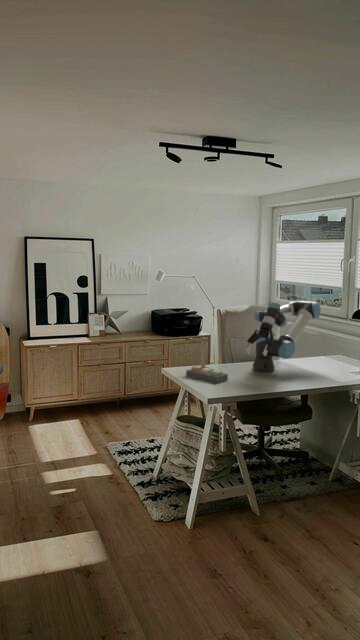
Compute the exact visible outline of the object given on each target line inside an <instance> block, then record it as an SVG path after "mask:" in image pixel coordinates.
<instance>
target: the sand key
mask: <svg viewBox="0 0 360 640" xmlns="http://www.w3.org/2000/svg"><path fill="white" fill-rule="evenodd" d="M209 368H210V367H208V368H204V369H201V372H202V373H206V374H209V373H211V371H212V369H213V368H211V369H209Z"/></svg>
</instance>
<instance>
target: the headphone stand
mask: <svg viewBox="0 0 360 640" xmlns="http://www.w3.org/2000/svg"><path fill="white" fill-rule="evenodd" d="M200 340H201V350H200V351H201V352H200V353H201V354H200V356H201V357H200V367H203V369H204V368H209V369H212V371H214V370H215V369H214V368H211V367H208V366H206V342H209V341H210V340H209V338H207V337H201V338H200Z"/></svg>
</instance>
